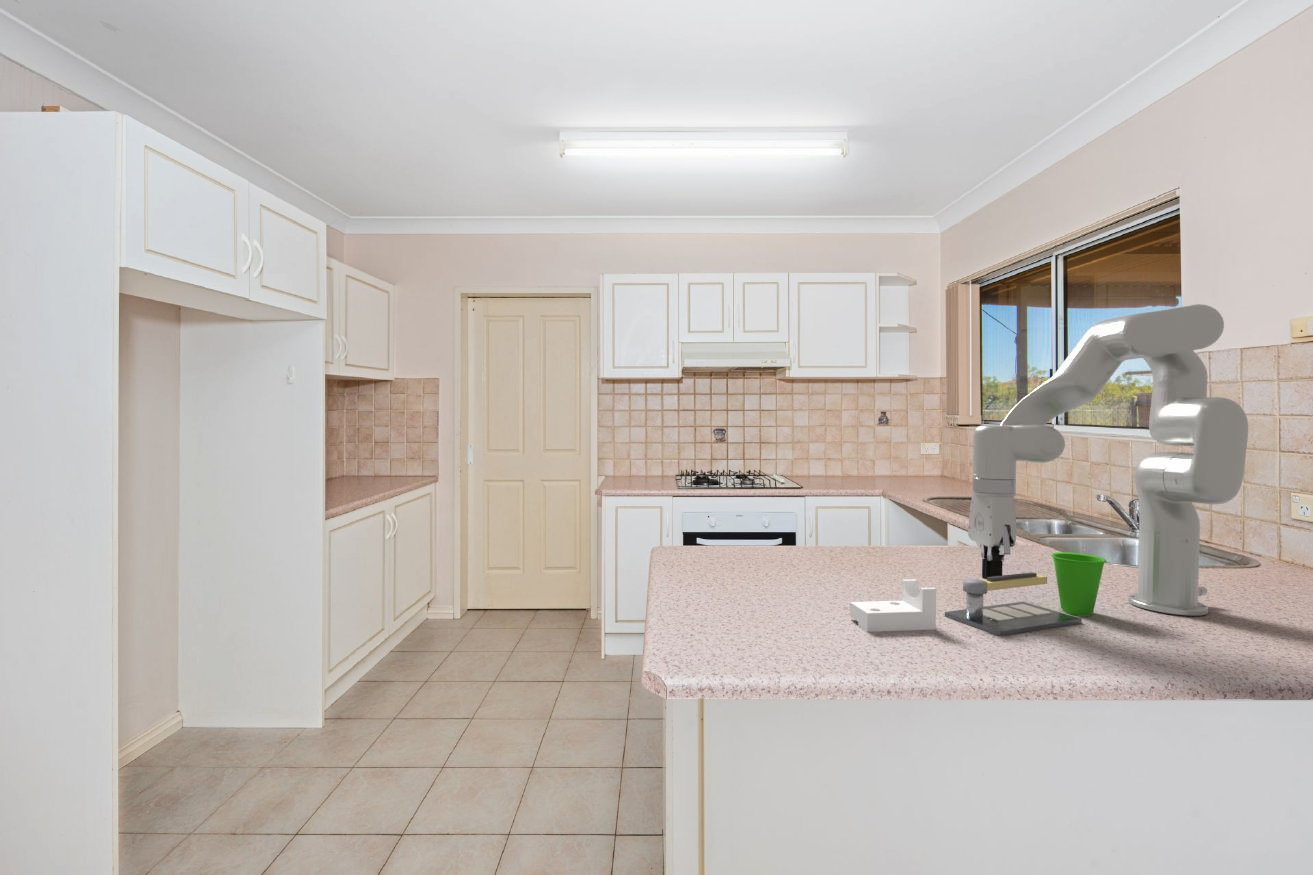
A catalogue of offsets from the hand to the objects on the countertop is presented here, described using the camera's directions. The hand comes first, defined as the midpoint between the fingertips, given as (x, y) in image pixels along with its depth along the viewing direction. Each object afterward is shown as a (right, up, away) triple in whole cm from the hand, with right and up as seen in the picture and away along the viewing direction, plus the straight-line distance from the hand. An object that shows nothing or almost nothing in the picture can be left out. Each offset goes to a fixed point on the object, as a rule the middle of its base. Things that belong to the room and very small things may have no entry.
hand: (991, 579), depth 124 cm
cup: (+16, -7, -1) cm, 18 cm away
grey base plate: (+1, -6, -6) cm, 9 cm away
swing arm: (0, 0, -6) cm, 6 cm away
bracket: (-23, -7, -9) cm, 26 cm away
